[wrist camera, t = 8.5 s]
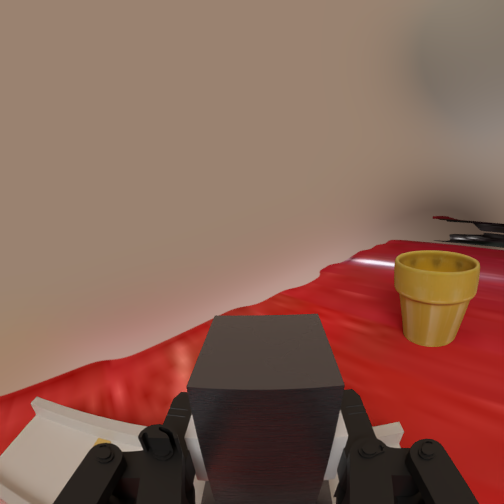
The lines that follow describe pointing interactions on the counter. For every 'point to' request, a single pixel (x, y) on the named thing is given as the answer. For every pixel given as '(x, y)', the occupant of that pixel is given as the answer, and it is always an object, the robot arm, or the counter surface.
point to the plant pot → (434, 294)
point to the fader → (266, 409)
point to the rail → (84, 451)
